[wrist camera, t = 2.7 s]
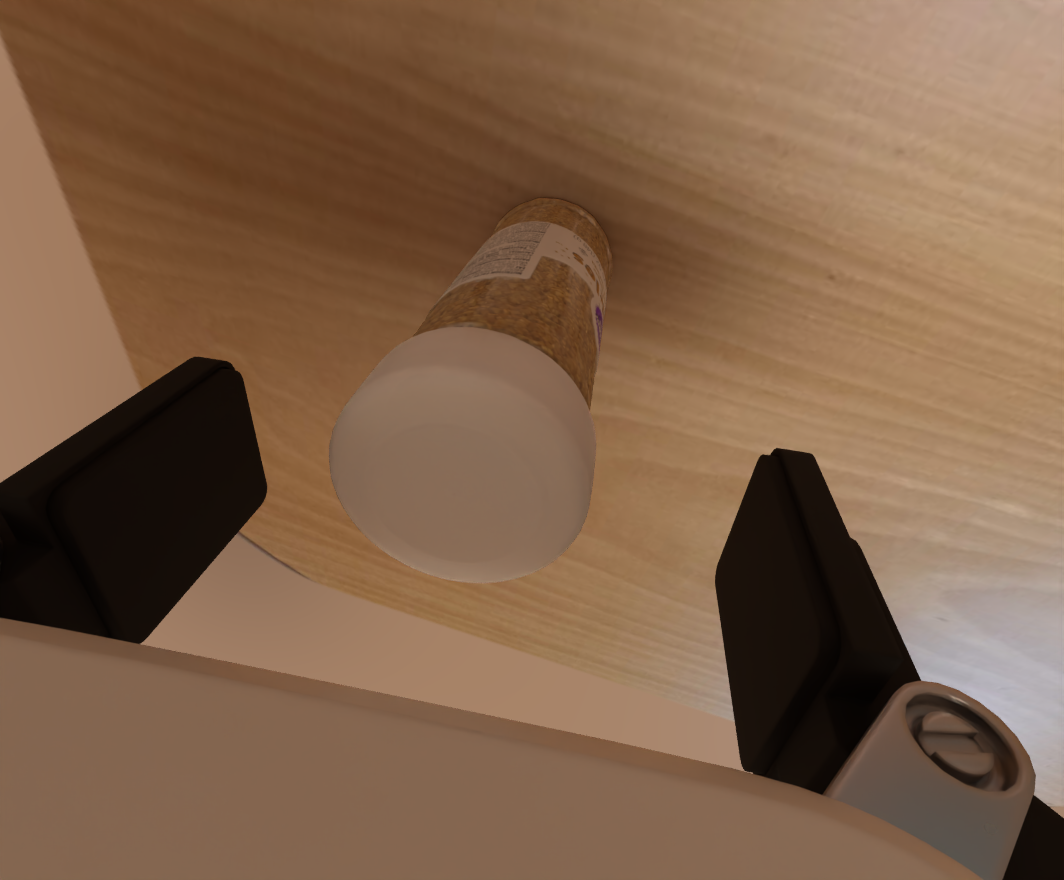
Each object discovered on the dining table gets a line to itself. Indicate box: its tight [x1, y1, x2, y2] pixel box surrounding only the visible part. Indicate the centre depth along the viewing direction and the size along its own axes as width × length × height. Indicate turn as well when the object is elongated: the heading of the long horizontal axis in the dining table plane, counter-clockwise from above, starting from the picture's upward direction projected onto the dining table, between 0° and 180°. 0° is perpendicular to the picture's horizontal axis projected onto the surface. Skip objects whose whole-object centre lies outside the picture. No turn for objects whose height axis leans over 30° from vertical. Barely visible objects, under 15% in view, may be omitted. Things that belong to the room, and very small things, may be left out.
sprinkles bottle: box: [329, 198, 612, 583], centre depth 15 cm, size 5×4×13 cm
